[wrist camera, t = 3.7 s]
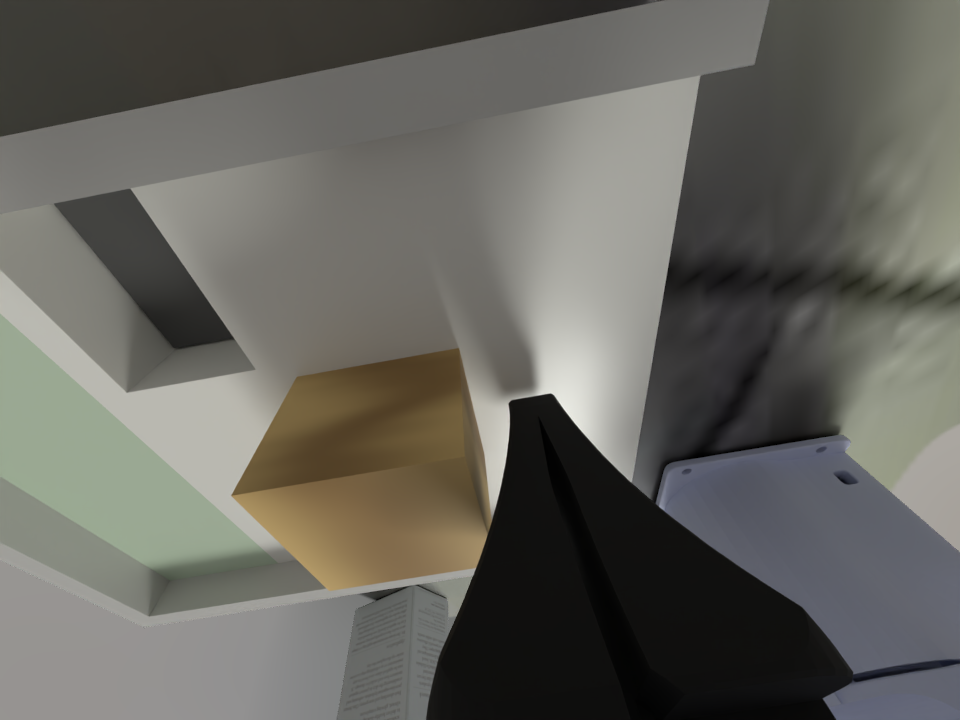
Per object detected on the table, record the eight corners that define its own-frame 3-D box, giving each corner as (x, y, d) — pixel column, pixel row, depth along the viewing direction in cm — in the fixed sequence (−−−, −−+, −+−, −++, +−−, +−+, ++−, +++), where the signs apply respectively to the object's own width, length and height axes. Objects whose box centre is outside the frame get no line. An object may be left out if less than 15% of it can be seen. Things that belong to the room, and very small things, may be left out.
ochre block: (459, 347, 10) (464, 456, 7) (484, 454, 13) (496, 564, 10) (296, 376, 11) (230, 495, 7) (357, 475, 14) (329, 591, 10)
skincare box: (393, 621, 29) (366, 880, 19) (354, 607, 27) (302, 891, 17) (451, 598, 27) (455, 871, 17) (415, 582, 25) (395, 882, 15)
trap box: (648, 27, 8) (774, -23, 5) (606, 474, 19) (639, 549, 16) (-250, 209, 9) (-629, 266, 6) (193, 542, 20) (143, 627, 17)
